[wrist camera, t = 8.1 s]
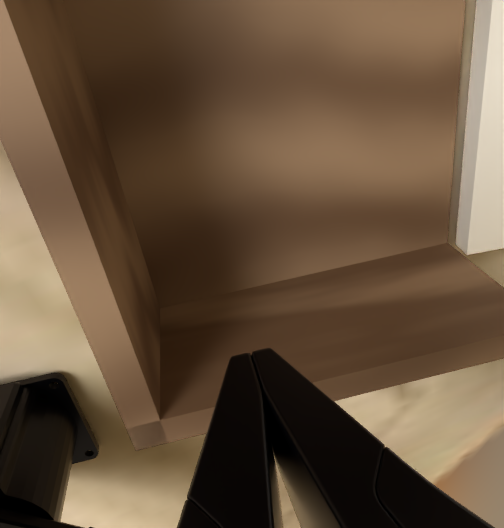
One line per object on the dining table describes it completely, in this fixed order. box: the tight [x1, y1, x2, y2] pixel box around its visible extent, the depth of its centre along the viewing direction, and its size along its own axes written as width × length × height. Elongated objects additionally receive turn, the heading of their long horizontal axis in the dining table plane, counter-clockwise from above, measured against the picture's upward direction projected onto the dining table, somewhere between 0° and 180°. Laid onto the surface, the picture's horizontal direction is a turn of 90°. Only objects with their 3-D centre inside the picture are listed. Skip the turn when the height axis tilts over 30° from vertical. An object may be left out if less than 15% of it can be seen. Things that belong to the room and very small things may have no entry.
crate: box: [0, 0, 504, 451], centre depth 15 cm, size 20×16×8 cm
